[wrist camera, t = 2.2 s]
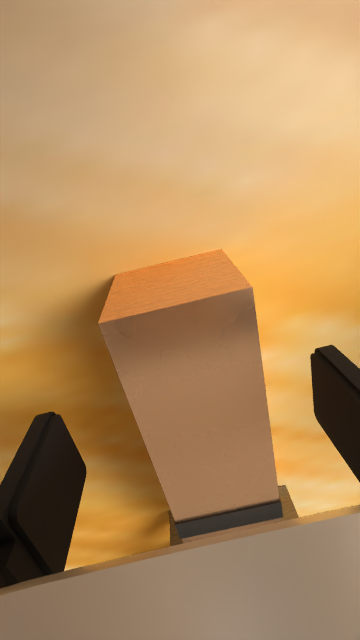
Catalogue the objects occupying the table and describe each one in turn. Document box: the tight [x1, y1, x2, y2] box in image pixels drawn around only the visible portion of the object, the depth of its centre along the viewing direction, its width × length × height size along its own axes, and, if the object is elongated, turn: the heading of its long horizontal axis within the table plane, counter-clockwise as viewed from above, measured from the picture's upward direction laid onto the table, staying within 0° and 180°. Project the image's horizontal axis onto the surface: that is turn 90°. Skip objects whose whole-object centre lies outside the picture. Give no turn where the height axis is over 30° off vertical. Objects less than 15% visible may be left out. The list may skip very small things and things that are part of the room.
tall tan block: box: [98, 249, 283, 543], centre depth 16 cm, size 16×5×5 cm, turn 13°
